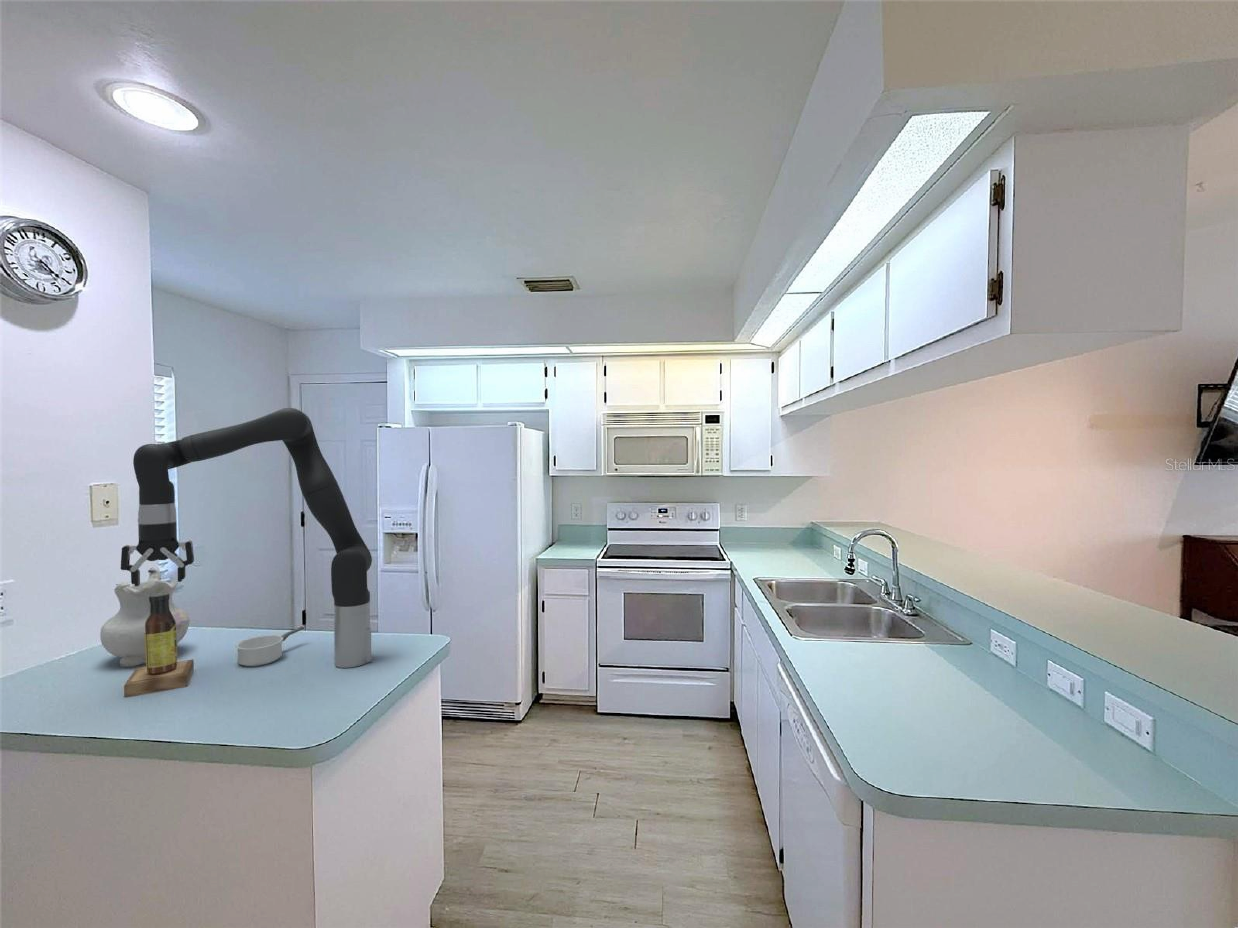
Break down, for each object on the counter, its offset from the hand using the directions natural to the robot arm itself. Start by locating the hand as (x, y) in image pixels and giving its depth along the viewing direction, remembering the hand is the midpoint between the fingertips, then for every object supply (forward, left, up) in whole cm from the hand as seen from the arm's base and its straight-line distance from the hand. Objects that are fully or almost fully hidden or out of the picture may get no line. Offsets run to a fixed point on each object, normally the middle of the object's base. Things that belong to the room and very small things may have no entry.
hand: (158, 583), depth 139 cm
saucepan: (-25, -8, -26) cm, 37 cm away
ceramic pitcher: (+7, -25, -26) cm, 37 cm away
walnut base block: (0, 0, -26) cm, 26 cm away
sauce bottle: (0, 0, -23) cm, 23 cm away
